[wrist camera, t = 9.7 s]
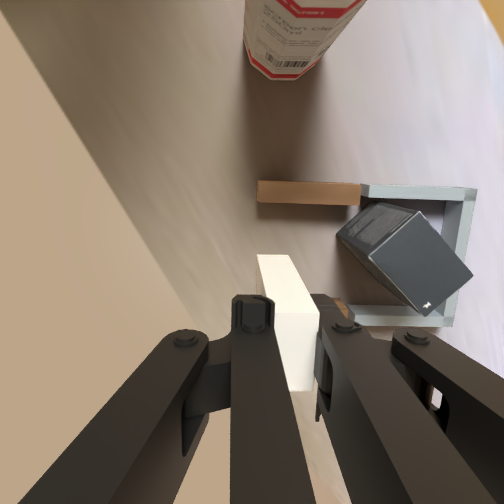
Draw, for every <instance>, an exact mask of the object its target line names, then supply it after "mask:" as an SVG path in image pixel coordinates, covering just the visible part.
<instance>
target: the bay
mask: <svg viewBox="0 0 504 504" xmlns="http://www.w3.org/2000/svg"><path fill="white" fill-rule="evenodd" d="M360 185H362V187H361V196H365V197H373V198H401V199H429V200H447V201H446V208H445V214H444V220H443V226H442V232H441V237H442V238H443V239H444V241H445V242H446V243H447V244H448V245H449V247H450V248H451V249H452V250H453V251H454V252H455V254H456V255H457V256H458V257H459V258H460V260H461V261H462V262H463V263H464V261H465V255H466V250H467V244H468V239H469V233H470V228H471V222H472V217H473V211H474V206H475V200H476V195H477V189H472V188H462V187H439V186H412V185H386V184H360ZM458 294H459V289H458V290H457V291H456V292H455V293H454V294H452V295H451V296H450V297H449V298H448V299H446V300H445V301H444V302H443V303H442V304H440V305H439V306H438V307H437V308H436V309H434V310H433V311H432V312H431V313H430V314H429V315H428V316H427V317H423V316H422V315H420V314H419V313H417V312H416V311H415V310H414V309H412V308H411V307H410V306H390V305H347V309H348V318H349V319H350V320H352V321H355V322H358V323H359V324H361V325H362V326H418V327H453V322H454V316H455V311H456V305H457V300H458Z"/></svg>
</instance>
